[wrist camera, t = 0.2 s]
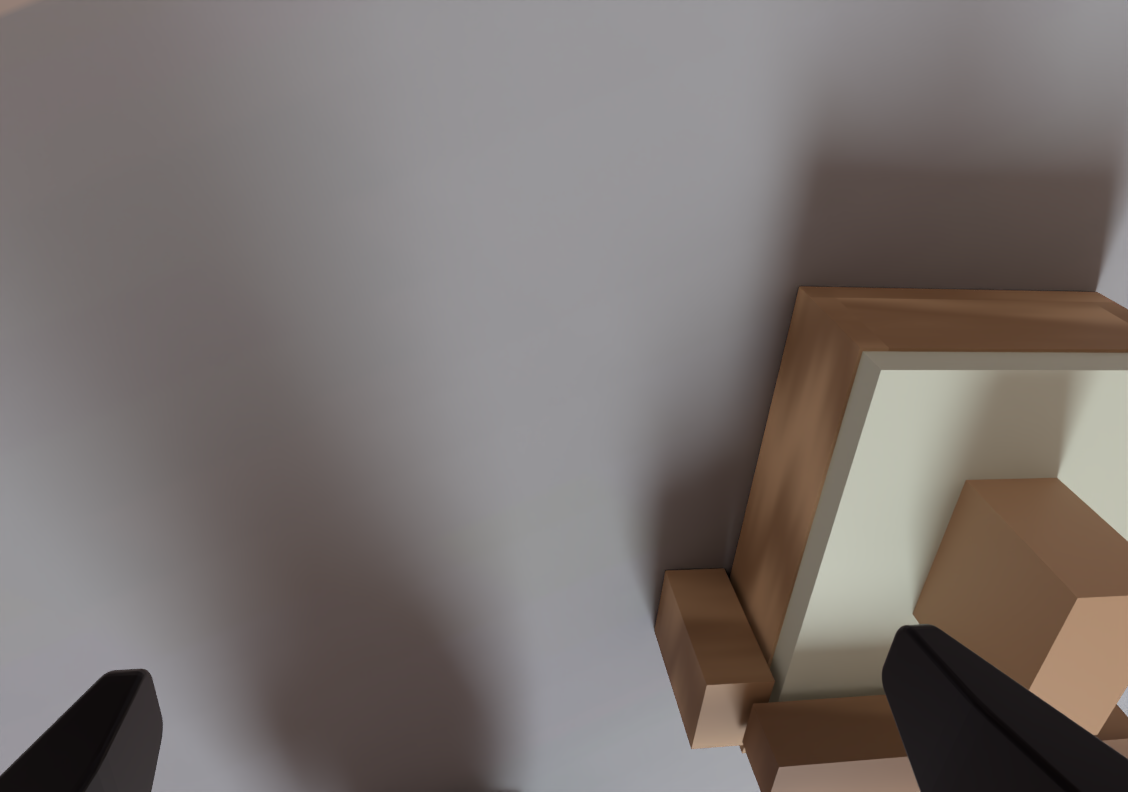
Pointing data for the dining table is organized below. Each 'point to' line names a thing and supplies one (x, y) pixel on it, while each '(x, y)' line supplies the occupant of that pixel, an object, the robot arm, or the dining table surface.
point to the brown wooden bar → (846, 745)
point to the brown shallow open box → (802, 457)
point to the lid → (972, 527)
